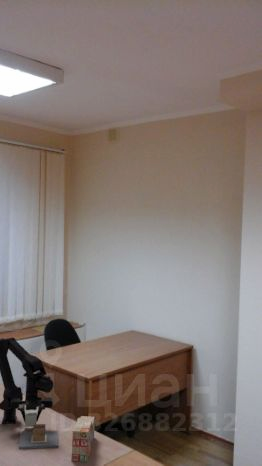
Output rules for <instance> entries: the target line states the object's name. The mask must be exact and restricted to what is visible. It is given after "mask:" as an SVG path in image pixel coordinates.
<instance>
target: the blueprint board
mask: <svg viewBox="0 0 262 466" xmlns="http://www.w3.org/2000/svg"><path fill="white" fill-rule="evenodd" d="M19 435H20V437H19V441H18V442H19V443H18V444H19V445H18V450H30V449H32V450H33V449H48V448H49V449H50V448H59V435H58V430H54V431H53V430H51V431H50V430H49V431H48V430H45V441H33V431H27V432H26V431H24V432H21V431H20V434H19Z"/></svg>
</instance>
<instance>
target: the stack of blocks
mask: <svg viewBox="0 0 262 466" xmlns="http://www.w3.org/2000/svg"><path fill="white" fill-rule="evenodd" d="M95 424H96V423H95V416H89V415H88V416H86V415H85V416H84V415H81V416H80V417H77V420H76V423H75V425H74V427H73V430H72V441H71V462H76V463H87V462H88V459H89V456H90V454H91V448H92V445H93V442H94V439H95Z"/></svg>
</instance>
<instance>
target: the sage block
mask: <svg viewBox="0 0 262 466" xmlns="http://www.w3.org/2000/svg"><path fill="white" fill-rule="evenodd" d="M37 412H38V410H25V422H24V427H25V428H27V427H28V428H32V427H34V424H37V422H38V421H37ZM36 421H37V422H36Z"/></svg>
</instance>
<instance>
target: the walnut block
mask: <svg viewBox="0 0 262 466" xmlns="http://www.w3.org/2000/svg"><path fill="white" fill-rule="evenodd" d="M32 429H33V430H32V432H33V441H45V431H46V423H39V424H37V423H36V424H34V427H33V428H32Z"/></svg>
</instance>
